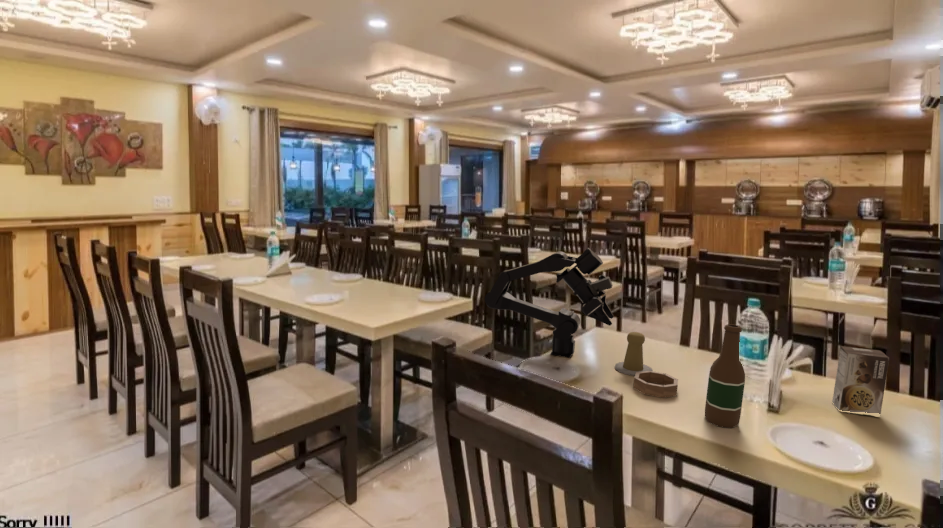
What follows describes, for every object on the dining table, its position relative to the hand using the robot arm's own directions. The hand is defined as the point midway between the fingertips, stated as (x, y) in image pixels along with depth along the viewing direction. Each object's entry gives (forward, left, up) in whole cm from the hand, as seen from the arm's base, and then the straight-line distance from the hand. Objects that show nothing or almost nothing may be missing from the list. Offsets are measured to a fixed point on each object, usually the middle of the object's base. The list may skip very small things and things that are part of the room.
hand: (611, 321), depth 166 cm
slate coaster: (+8, -5, -13) cm, 16 cm away
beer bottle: (+31, -32, -13) cm, 47 cm away
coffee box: (+64, -8, -13) cm, 66 cm away
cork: (+8, -5, -13) cm, 16 cm away
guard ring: (+15, -18, -13) cm, 27 cm away
